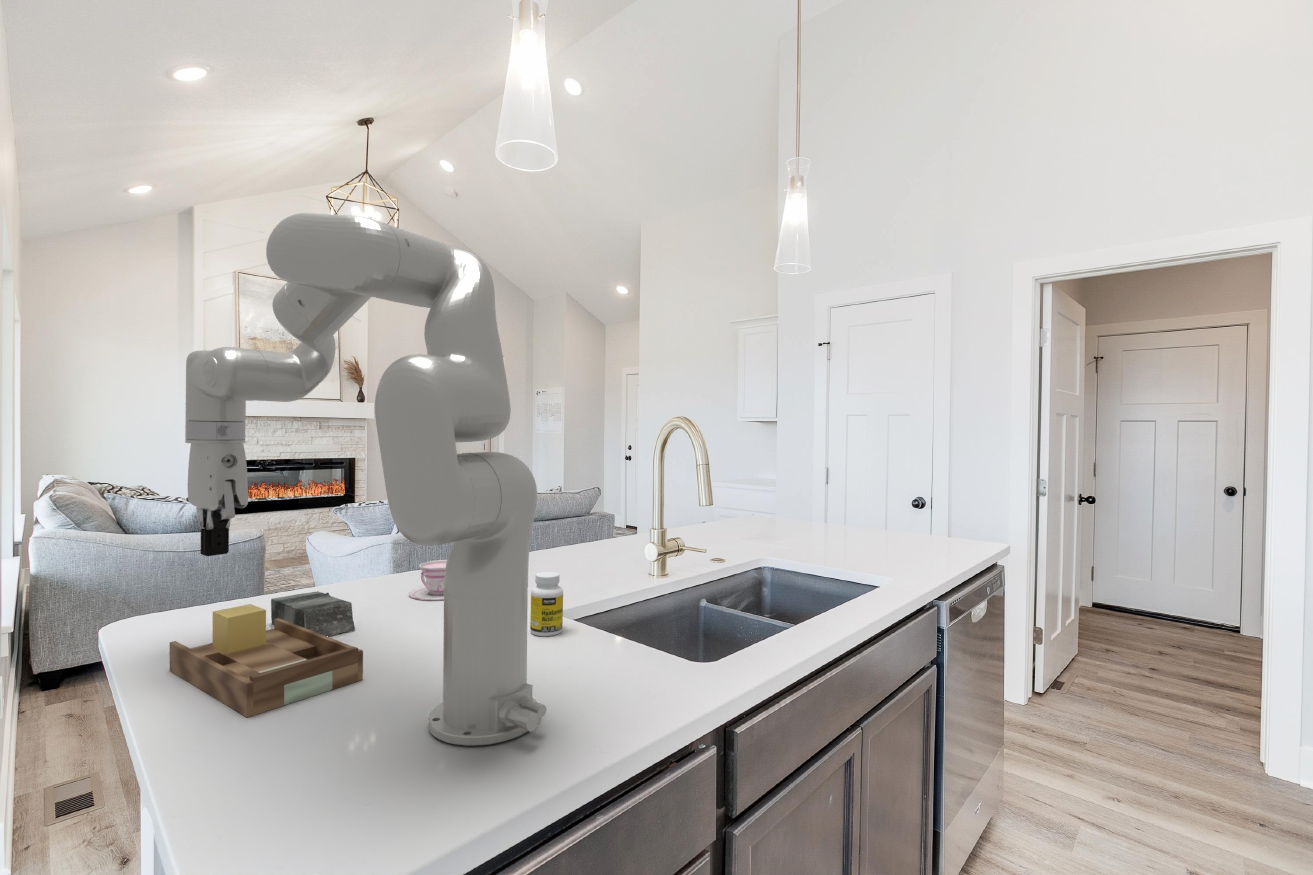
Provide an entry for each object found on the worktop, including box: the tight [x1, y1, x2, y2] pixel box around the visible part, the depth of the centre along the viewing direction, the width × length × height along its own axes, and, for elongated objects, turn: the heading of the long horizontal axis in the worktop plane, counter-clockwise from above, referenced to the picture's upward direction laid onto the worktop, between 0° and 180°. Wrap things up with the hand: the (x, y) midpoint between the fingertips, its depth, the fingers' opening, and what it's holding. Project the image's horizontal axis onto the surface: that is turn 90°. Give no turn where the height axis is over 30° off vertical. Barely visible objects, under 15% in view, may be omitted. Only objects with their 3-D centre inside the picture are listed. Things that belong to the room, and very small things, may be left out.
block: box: [212, 603, 267, 654], centre depth 94 cm, size 5×5×5 cm
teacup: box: [408, 559, 447, 601], centre depth 133 cm, size 12×12×6 cm
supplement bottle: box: [529, 571, 564, 637], centre depth 109 cm, size 5×5×10 cm
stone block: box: [270, 590, 356, 637], centre depth 110 cm, size 9×14×5 cm, turn 49°
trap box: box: [169, 618, 364, 718], centre depth 89 cm, size 24×14×4 cm, turn 55°
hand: (214, 553), depth 98 cm, fingers closed
